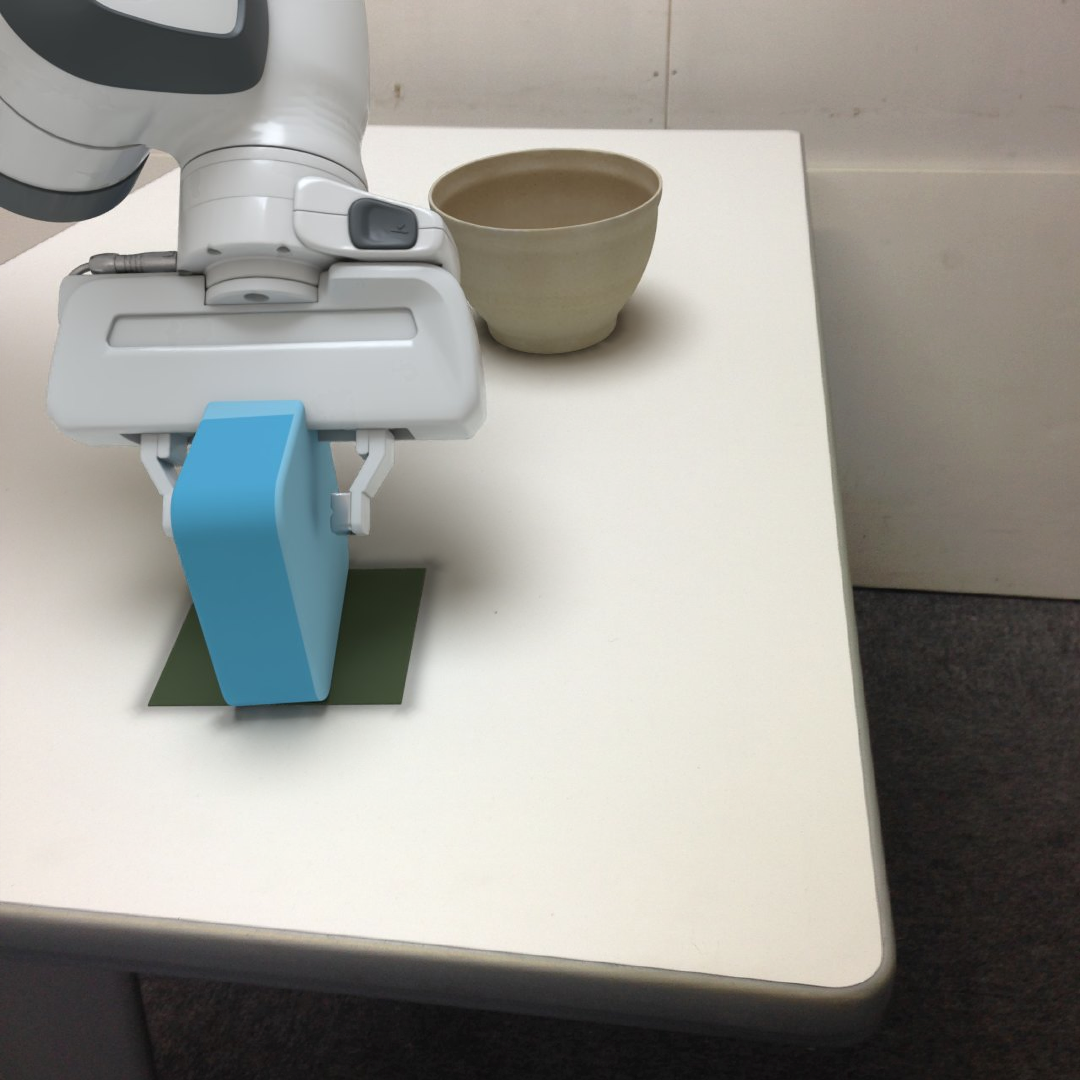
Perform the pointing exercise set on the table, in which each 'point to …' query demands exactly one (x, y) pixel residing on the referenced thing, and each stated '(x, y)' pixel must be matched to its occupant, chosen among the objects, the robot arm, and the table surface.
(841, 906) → the table surface
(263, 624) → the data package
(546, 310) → the planter bowl
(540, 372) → the table surface
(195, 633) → the mat
